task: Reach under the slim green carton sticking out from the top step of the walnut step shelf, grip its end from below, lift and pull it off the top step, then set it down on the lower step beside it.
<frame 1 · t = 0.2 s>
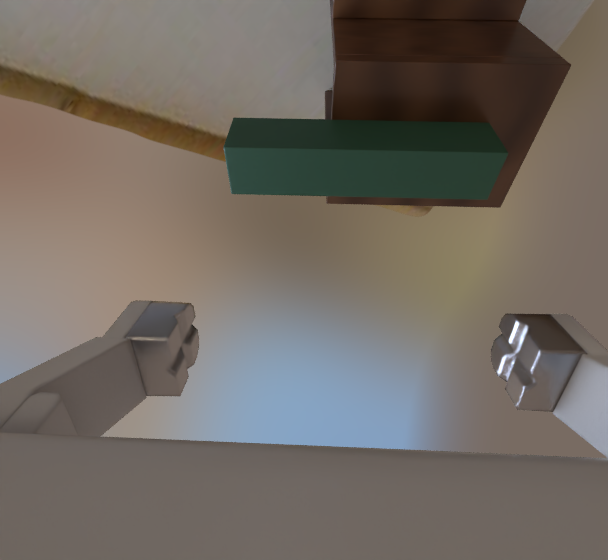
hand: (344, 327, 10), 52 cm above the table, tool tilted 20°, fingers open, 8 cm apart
carton: (357, 143, 33), point 26 cm above the table, touching step shelf
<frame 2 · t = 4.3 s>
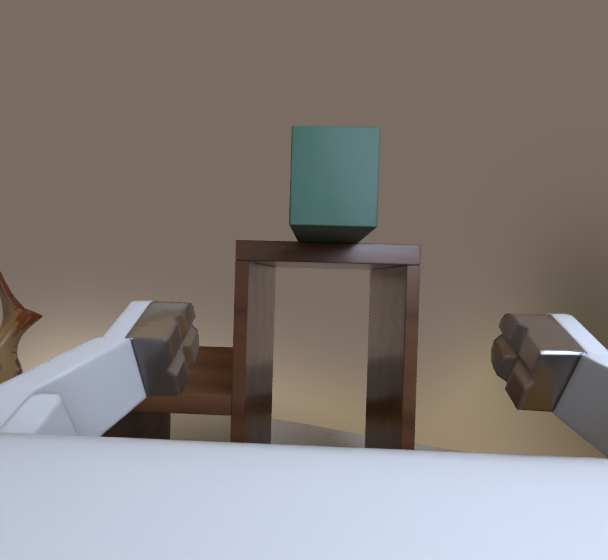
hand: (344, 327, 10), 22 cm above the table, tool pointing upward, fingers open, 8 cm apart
step shelf: (253, 513, 36), on the table
carton: (326, 245, 29), point 26 cm above the table, touching step shelf
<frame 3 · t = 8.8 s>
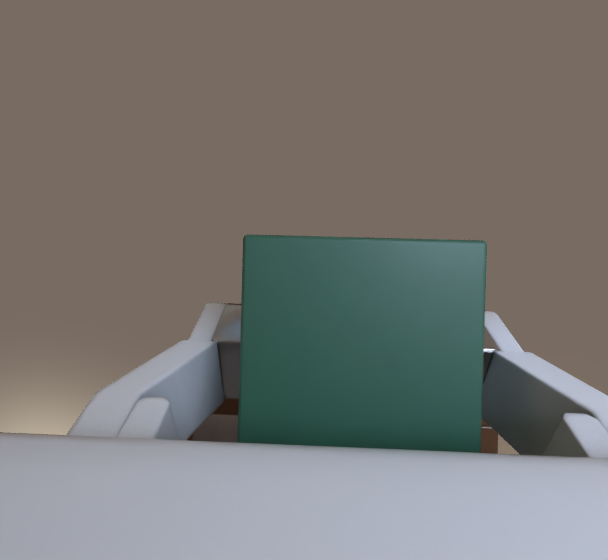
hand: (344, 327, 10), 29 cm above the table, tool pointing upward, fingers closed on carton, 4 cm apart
carton: (331, 368, 18), point 26 cm above the table, touching gripper, step shelf
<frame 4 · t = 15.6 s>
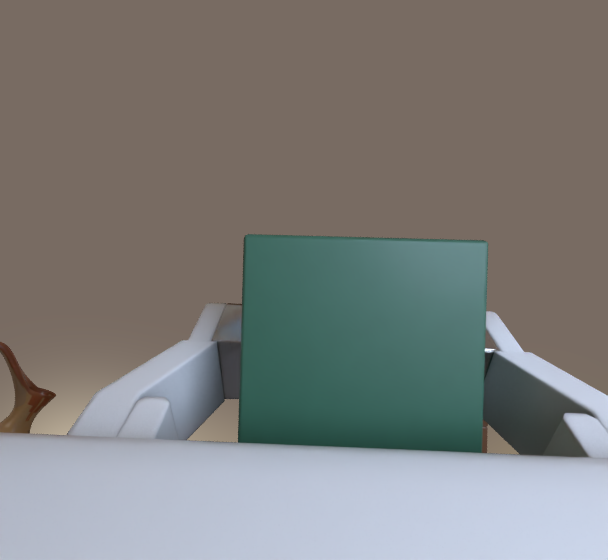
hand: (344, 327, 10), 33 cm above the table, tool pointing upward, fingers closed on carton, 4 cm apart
carton: (330, 368, 18), point 30 cm above the table, touching gripper
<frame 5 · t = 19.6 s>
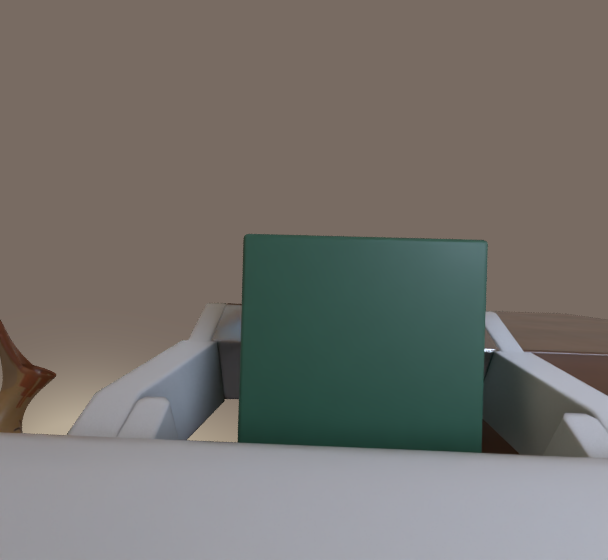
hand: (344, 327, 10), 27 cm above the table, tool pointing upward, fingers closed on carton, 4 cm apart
carton: (330, 368, 18), point 24 cm above the table, touching gripper
when the fingers open (17 cm above the table, at t = 22.6 s): carton stays where it is, resting on step shelf.
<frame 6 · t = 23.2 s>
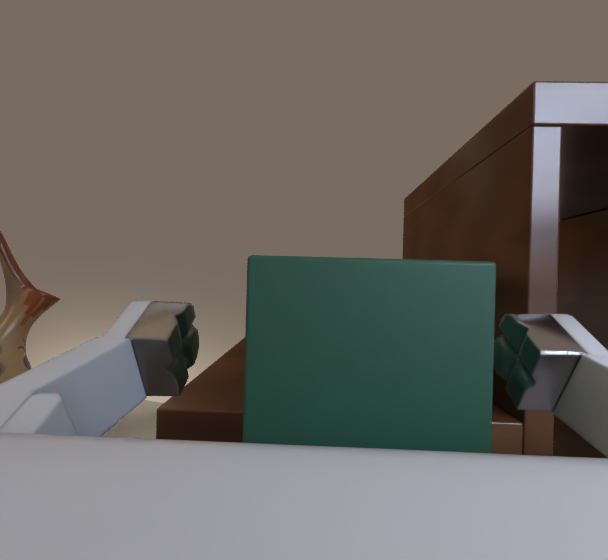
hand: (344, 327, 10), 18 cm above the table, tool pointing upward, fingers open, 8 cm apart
carton: (333, 377, 17), point 14 cm above the table, touching step shelf
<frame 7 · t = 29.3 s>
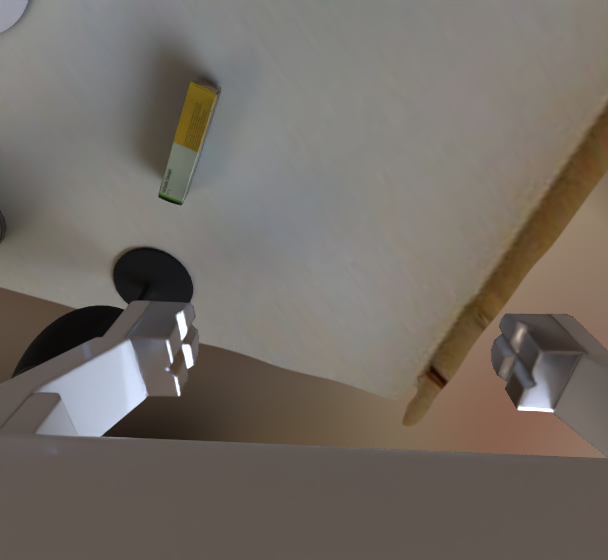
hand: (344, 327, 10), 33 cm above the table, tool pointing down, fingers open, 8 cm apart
medication box: (195, 140, 40), on the table
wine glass: (154, 282, 49), on the table
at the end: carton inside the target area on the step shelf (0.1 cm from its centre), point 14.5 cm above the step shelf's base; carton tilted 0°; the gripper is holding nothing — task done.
